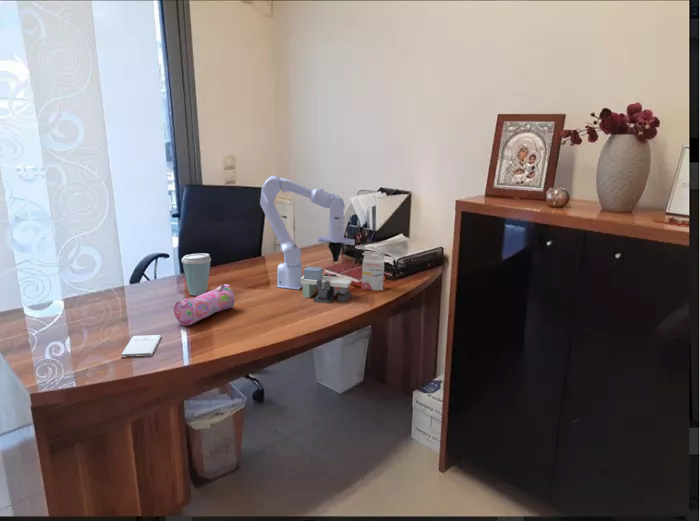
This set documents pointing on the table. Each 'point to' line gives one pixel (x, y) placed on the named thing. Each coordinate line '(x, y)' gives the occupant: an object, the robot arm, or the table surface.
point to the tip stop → (344, 296)
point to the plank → (331, 282)
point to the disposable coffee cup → (197, 272)
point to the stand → (326, 291)
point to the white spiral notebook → (141, 345)
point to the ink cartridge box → (373, 271)
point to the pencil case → (204, 305)
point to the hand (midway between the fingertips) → (335, 261)
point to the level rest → (308, 290)
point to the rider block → (313, 273)
